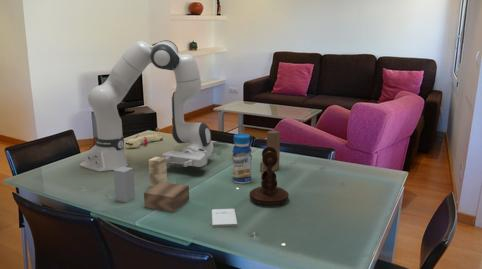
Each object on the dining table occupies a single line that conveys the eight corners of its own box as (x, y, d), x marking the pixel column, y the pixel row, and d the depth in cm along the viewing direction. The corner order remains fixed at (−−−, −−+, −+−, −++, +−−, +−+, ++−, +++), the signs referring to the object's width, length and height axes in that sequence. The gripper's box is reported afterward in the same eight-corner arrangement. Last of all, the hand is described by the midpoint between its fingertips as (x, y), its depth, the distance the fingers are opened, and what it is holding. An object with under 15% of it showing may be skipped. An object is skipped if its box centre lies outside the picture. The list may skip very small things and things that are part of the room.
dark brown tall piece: (249, 192, 170) (250, 143, 165) (286, 193, 169) (288, 144, 164) (249, 207, 155) (249, 154, 150) (289, 208, 155) (291, 155, 150)
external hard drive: (212, 229, 140) (211, 213, 152) (237, 228, 140) (234, 212, 152) (212, 224, 139) (211, 208, 151) (237, 223, 140) (234, 208, 152)
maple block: (149, 188, 174) (148, 159, 171) (157, 184, 178) (155, 156, 176) (160, 189, 172) (158, 161, 169) (167, 185, 176) (166, 158, 174)
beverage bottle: (254, 179, 185) (255, 134, 180) (246, 185, 177) (247, 138, 172) (237, 176, 188) (237, 132, 183) (228, 182, 181) (228, 136, 176)
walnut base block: (144, 208, 155) (143, 192, 154) (161, 196, 166) (160, 181, 165) (174, 212, 151) (173, 197, 150) (189, 200, 162) (188, 185, 161)
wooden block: (267, 173, 191) (268, 134, 187) (259, 171, 194) (260, 133, 190) (279, 169, 198) (280, 131, 194) (271, 167, 201) (272, 129, 197)
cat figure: (153, 141, 253) (120, 147, 232) (153, 126, 252) (120, 131, 231) (165, 143, 248) (133, 149, 227) (166, 128, 246) (133, 133, 226)
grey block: (115, 200, 161) (113, 170, 159) (124, 195, 166) (122, 166, 163) (126, 202, 159) (124, 172, 157) (134, 197, 164) (133, 168, 161)
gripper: (171, 146, 200) (154, 153, 188) (210, 151, 192) (194, 159, 180) (172, 158, 201) (154, 167, 189) (210, 164, 193) (194, 173, 181)
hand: (174, 163), depth 184 cm, fingers open, 8 cm apart
